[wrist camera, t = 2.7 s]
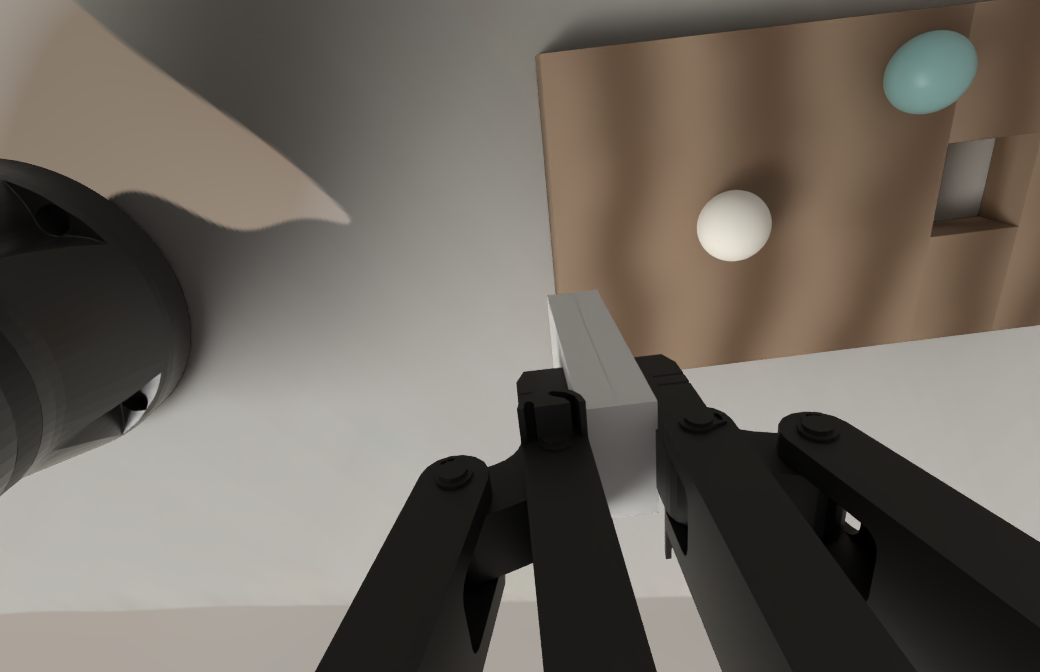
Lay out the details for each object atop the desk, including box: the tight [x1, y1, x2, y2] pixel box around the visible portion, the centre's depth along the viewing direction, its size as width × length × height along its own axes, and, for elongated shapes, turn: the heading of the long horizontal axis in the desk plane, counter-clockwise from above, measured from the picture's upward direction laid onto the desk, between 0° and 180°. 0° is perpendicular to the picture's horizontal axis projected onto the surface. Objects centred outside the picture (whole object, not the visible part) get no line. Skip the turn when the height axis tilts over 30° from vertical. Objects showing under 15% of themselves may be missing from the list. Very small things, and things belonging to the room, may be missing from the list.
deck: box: [535, 0, 1040, 370], centre depth 28 cm, size 28×16×2 cm, turn 96°
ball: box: [697, 190, 772, 261], centre depth 26 cm, size 3×3×3 cm
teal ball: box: [883, 30, 978, 114], centre depth 24 cm, size 3×3×3 cm
